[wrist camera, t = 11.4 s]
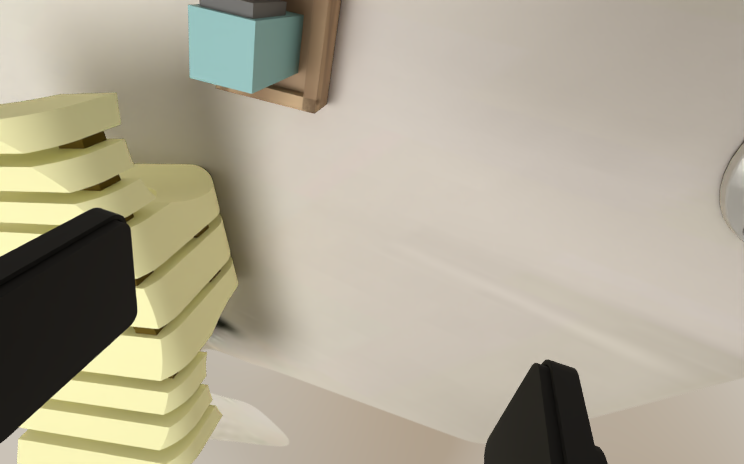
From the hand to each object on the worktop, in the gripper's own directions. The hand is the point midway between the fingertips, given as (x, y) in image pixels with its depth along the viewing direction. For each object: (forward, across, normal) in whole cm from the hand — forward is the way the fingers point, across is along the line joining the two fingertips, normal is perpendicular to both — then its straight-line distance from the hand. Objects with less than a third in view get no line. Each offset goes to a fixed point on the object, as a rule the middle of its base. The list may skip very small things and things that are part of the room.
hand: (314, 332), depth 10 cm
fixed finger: (+25, +13, -1) cm, 28 cm away
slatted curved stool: (+27, +23, +20) cm, 41 cm away
